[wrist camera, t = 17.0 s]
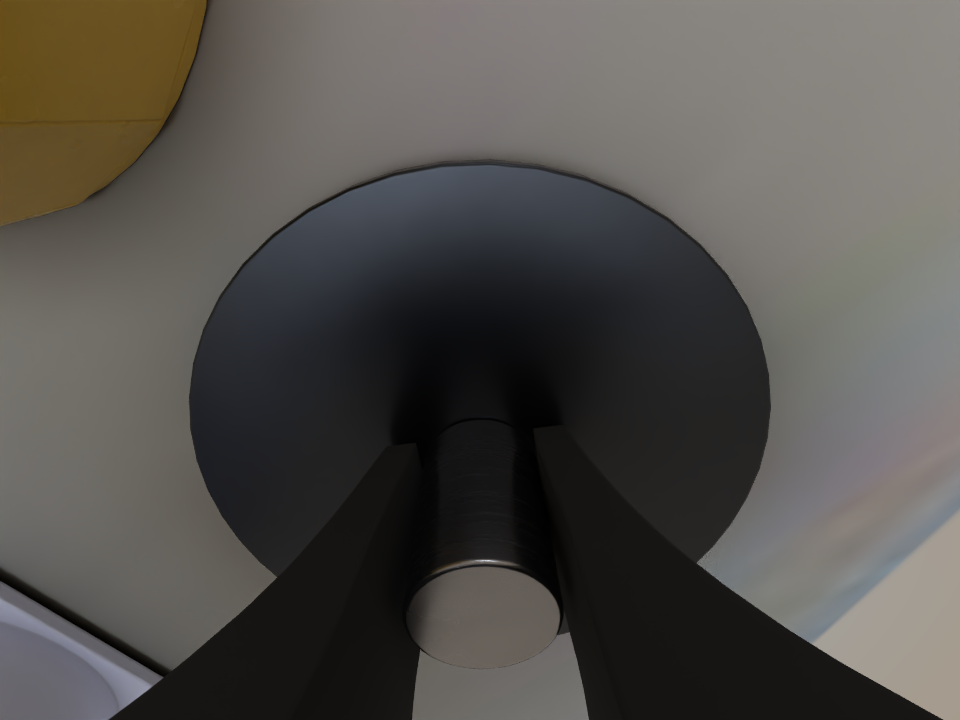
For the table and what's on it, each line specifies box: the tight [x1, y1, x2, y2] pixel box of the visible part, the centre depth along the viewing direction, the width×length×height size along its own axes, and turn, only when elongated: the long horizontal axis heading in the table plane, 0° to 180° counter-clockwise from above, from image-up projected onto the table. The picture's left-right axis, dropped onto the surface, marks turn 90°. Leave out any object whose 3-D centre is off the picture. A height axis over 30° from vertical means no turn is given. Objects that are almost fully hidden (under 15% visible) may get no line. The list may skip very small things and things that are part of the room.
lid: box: [189, 159, 771, 669], centre depth 9 cm, size 12×12×5 cm
